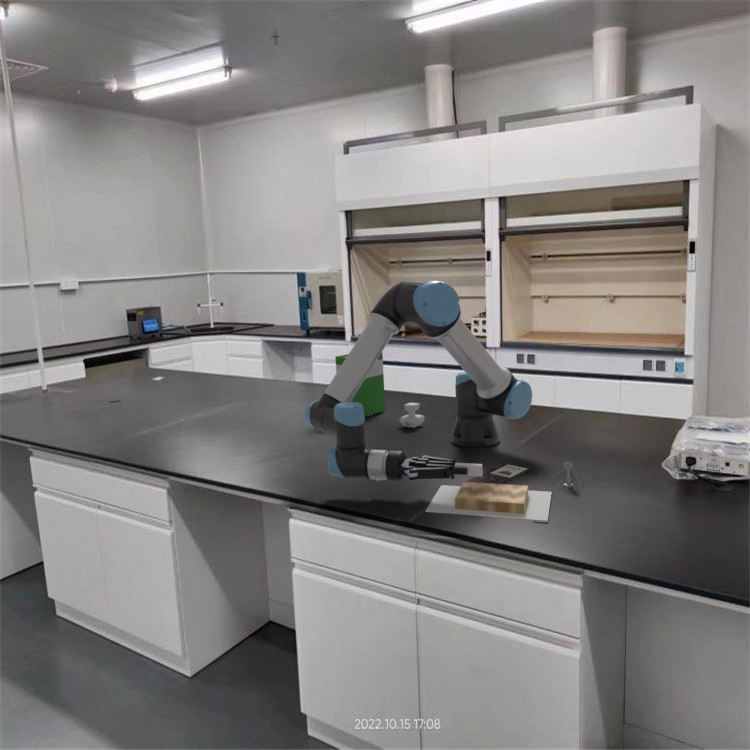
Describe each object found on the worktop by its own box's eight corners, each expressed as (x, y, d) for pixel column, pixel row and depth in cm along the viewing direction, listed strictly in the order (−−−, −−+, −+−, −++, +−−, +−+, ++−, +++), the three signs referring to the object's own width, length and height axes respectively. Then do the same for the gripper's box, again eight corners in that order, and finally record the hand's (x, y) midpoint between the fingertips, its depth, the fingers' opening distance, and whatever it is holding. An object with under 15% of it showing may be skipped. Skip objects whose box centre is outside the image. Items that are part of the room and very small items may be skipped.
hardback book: (372, 408, 261) (369, 350, 257) (385, 411, 256) (382, 351, 251) (339, 417, 249) (335, 356, 245) (352, 420, 244) (348, 357, 239)
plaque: (463, 481, 164) (528, 485, 159) (463, 490, 165) (528, 494, 160) (454, 499, 153) (523, 503, 148) (454, 508, 153) (523, 513, 148)
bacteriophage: (549, 489, 165) (549, 463, 164) (560, 479, 171) (560, 455, 170) (576, 493, 161) (576, 468, 160) (586, 483, 167) (587, 458, 166)
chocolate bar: (466, 481, 171) (503, 463, 184) (466, 484, 171) (504, 466, 184) (495, 488, 165) (532, 469, 178) (495, 492, 165) (532, 472, 178)
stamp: (411, 422, 236) (410, 400, 235) (427, 424, 232) (426, 402, 231) (397, 428, 229) (396, 405, 228) (412, 430, 225) (412, 407, 224)
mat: (441, 487, 170) (441, 485, 170) (551, 493, 161) (551, 491, 161) (425, 513, 153) (425, 511, 153) (547, 522, 144) (547, 520, 144)
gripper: (396, 471, 170) (486, 476, 162) (381, 488, 158) (478, 494, 150) (394, 443, 168) (485, 447, 161) (379, 459, 156) (477, 464, 149)
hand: (481, 470), depth 155 cm, fingers closed
